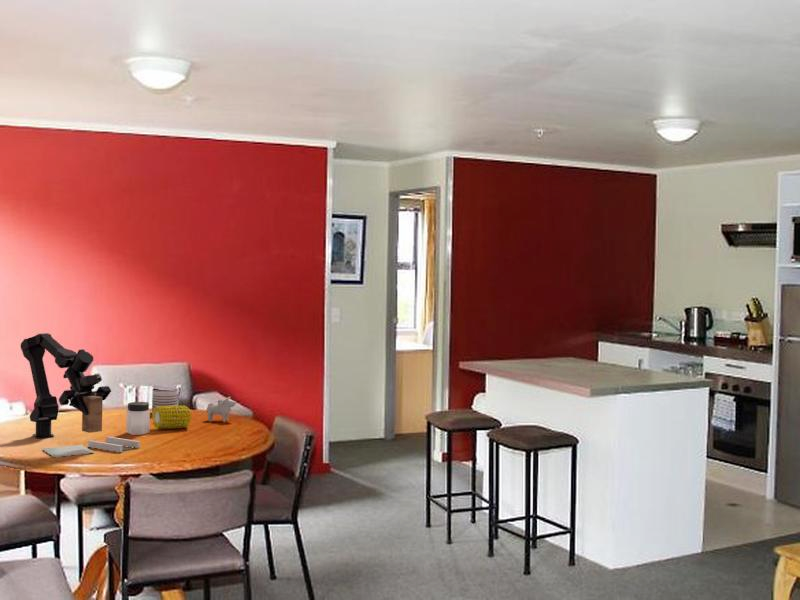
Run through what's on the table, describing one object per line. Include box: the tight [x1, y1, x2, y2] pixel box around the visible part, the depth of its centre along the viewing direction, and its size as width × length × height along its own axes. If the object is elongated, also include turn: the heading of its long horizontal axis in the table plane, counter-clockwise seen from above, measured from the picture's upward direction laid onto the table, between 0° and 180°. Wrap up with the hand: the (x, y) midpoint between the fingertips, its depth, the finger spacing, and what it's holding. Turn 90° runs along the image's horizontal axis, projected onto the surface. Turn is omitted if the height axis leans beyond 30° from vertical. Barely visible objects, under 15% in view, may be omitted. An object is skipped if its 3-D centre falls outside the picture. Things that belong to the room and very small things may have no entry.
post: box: [81, 396, 104, 434], centre depth 327 cm, size 5×5×12 cm
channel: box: [87, 436, 141, 453], centre depth 331 cm, size 16×10×2 cm, turn 64°
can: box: [151, 385, 179, 412], centre depth 407 cm, size 11×11×12 cm
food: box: [151, 405, 192, 430], centre depth 371 cm, size 15×12×10 cm
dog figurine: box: [206, 396, 237, 423], centre depth 392 cm, size 5×13×11 cm, turn 86°
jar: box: [126, 401, 151, 436], centre depth 360 cm, size 9×8×12 cm
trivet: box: [42, 444, 95, 458], centre depth 322 cm, size 14×14×1 cm
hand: (94, 413), depth 326 cm, fingers closed on post, 5 cm apart
